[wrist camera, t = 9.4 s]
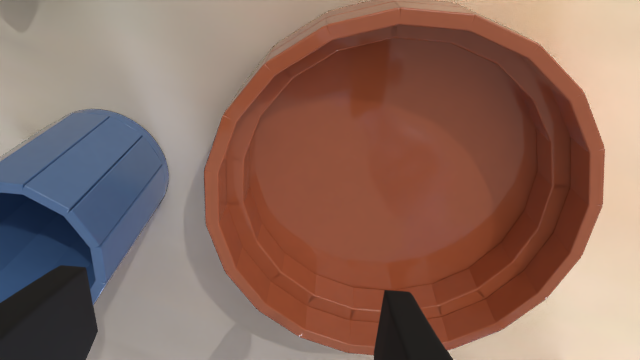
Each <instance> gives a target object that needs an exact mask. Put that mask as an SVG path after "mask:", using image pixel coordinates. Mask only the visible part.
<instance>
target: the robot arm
mask: <svg viewBox="0 0 640 360" xmlns="http://www.w3.org/2000/svg"><path fill="white" fill-rule="evenodd" d="M97 332H98V329H97V323H96V318H95V313H94V308H93V302H92V297H91V292H90V286H89V281H88V276H87V270H86V267H78V266H65V265H60V266H58V267H57V268H55V269H53V270H51V271H50V272H48V273H46V274H45V275H43V276H42V277H40V278H38V279H37V280H35V281H34V282H32V283H30V284H29V285H27V286H26V287H24V288H23V289H21V290H20V291H18V292H16V293H15V294H13V295H12V296H10V297H9V298H7V299H5V300H4V301H2V302H1V303H0V360H86V358H87V355H88V353H89V351H90V348H91V346H92V344H93V341H94V339H95V337H96V334H97ZM374 360H453V359H452V357H451V356H450V354H449V353H448V351H447V350H446V348H445V347H444V346H443V344H442V343H441V341H440V339H439V338H438V336H437V335H436V333H435V332H434V330H433V328H432V327H431V325H430V324H429V322H428V320H427V319H426V317H425V315H424V314H423V312H422V310H421V309H420V307H419V305H418V303H417V302H416V300H415V298H414V296H413V295H412V294H411V293H410V292H406V291H393V290H384V295H383V301H382V307H381V313H380V319H379V325H378V331H377V336H376V342H375V348H374Z"/></svg>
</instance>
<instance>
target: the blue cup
mask: <svg viewBox="0 0 640 360" xmlns="http://www.w3.org/2000/svg"><path fill="white" fill-rule="evenodd" d="M168 181H169V173H168V166H167V163H166V159H165V157H164V154H163V152H162V150H161V148H160V147H159V145H158V144H157V142H156V141H155V140H154V138H153V137H152V136H151V135H150V134H149V133H148V132H147V131H146V130H145V129H144V128H143V127H141V126H140V125H139V124H137V123H136V122H134V121H133V120H131V119H129V118H127V117H125V116H123V115H120V114H118V113H115V112H111V111H107V110H100V109H86V110H79V111H75V112H72V113H70V114H68V115H66V116H64V117H62V118H61V119H59V120H58V121H56V122H54V123H52V124H50V125H48V126H46V127H45V128H43V129H42V130H40V131H39V132H37V133H36V134H34V135H32V136H31V137H29V138H28V139H26V140H25V141H23V142H22V143H20V144H19V145H17V146H16V147H14V148H13V149H11V150H10V151H8V152H7V153H5V154H3V155H2V156H0V303H1V302H2V301H4V300H5V299H7V298H9V297H10V296H12V295H13V294H15V293H16V292H18V291H20V290H21V289H23V288H24V287H26V286H27V285H29V284H30V283H32V282H34V281H35V280H37V279H38V278H40V277H42V276H43V275H45V274H46V273H48V272H50V271H51V270H53V269H55V268H57V267H58V266H60V265H65V266H78V267H86V270H87V276H88V281H89V286H90V292H91V297H92V302H93V305H94V304H95V302H96V301H97V299H98V298H99V296H100V295H101V293H102V291H103V290H104V288H105V287H106V285H107V284H108V282H109V281H110V279H111V278H112V276H113V275H114V273H115V272H116V270H117V269H118V267H119V266H120V264H121V263H122V261H123V259H124V258H125V256H126V255H127V253H128V252H129V250H130V249H131V247H132V246H133V244H134V243H135V241H136V240H137V238H138V237H139V235H140V234H141V232H142V231H143V229H144V227H145V226H146V224H147V223H148V221H149V220H150V218H151V217H152V215H153V214H154V212H155V210H156V209H157V207H158V206H159V204H160V203H161V201H162V199H163V198H164V196H165V194H166V190H167V187H168Z"/></svg>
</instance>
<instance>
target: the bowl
mask: <svg viewBox="0 0 640 360" xmlns="http://www.w3.org/2000/svg"><path fill="white" fill-rule="evenodd" d="M604 158H605V149H604V144H603V142H602V139H601V136H600V133H599V131H598V128H597V125H596V123H595V120H594V117H593V114H592V112H591V109H590V106H589V104H588V101H587V98H586V96H585V93H584V92H583V90H582V89H581V88H580V87H579V86H578V85H577V83H576V82H575V81H574V80H573V79H572V78H571V77H570V76H569V75H568V74H567V73H566V72H565V71H564V70H563V69H562V67H561V66H560V65H559V64H558V63H557V62H556V61H555V60H554V59H553V58H552V57H551V56H550V55H549V54H548V53H547V51H546V50H545V49H544V48H543V47H542V46H541V45H539V44H538V43H537V42H535V41H533V40H531V39H529V38H527V37H525V36H523V35H521V34H519V33H517V32H515V31H513V30H511V29H509V28H508V27H506V26H503V25H501V24H499V23H497V22H495V21H493V20H491V19H488V18H486V17H484V16H482V15H480V14H478V13H476V12H474V11H471V10H469V9H467V8H465V7H463V6H461V5H459V4H457V3H453V2H449V1H438V0H371V1H367V2H363V3H359V4H355V5H351V6H347V7H342V8H338V9H334V10H330V11H328V12H327V13H324V14H322V15H321V16H319V17H317V18H316V19H314V20H313V21H311V22H310V23H308V24H306V25H305V26H303V27H302V28H300V29H298V30H297V31H295V32H294V33H292V34H291V35H289V36H287V37H286V38H284V39H283V40H281V41H279V42H278V43H277V44H276V45H275V46H273V47H272V49H271V50H270V51H269V52H268V54H267V55H266V56H265V57H264V59H263V60H262V61H261V62H260V63H259V65H258V66H257V67H256V68H255V70H254V71H253V72H252V73H251V75H250V76H249V77H248V78H247V80H246V81H245V82H244V83H243V85H242V86H241V87H240V89H239V90H238V92H237V93H236V95H235V97H234V98H233V100H232V101H231V103H230V104H229V106H228V107H227V109H226V111H225V112H224V114H223V116H222V119H221V122H220V125H219V127H218V130H217V133H216V136H215V139H214V142H213V145H212V148H211V151H210V154H209V157H208V160H207V163H206V166H205V170H204V188H205V219H206V226H207V229H208V231H209V234H210V236H211V238H212V241H213V243H214V246H215V248H216V251H217V253H218V256H219V258H220V261H221V263H222V266H223V268H224V271H225V272H226V274H227V275H228V276H229V277H230V278H231V280H232V281H233V282H234V283H235V284H236V285H237V287H238V288H239V289H240V290H241V291H242V292H243V294H244V295H245V296H246V297H247V298H248V299H249V301H250V302H251V303H252V304H253V305H254V306H255V308H256V309H258V310H259V311H260V312H262V313H263V314H265V315H266V316H268V317H269V318H271V319H272V320H274V321H275V322H277V323H279V324H280V325H282V326H283V327H285V328H286V329H288V330H289V331H291V332H292V333H294V334H296V335H297V336H300V337H301V338H304V339H307V340H310V341H313V342H316V343H319V344H322V345H325V346H328V347H331V348H334V349H337V350H340V351H343V352H348V353H355V354H367V355H374V348H375V342H376V336H377V331H378V325H379V319H380V313H381V307H382V301H383V295H384V290H393V291H406V292H410V293H411V294H412V295H413V296H414V298H415V300H416V302H417V303H418V305H419V307H420V309H421V310H422V312H423V314H424V315H425V317H426V319H427V320H428V322H429V324H430V325H431V327H432V328H433V330H434V332H435V333H436V335H437V336H438V338H439V339H440V341H441V343H442V344H443V346H444V347H445V348H446V350H451V349H454V348H457V347H459V346H462V345H464V344H467V343H470V342H472V341H475V340H477V339H480V338H482V337H485V336H488V335H490V334H493V333H495V332H498V331H500V330H501V329H504V328H505V327H507V326H508V325H510V324H511V323H513V322H514V321H515V320H517V319H518V318H520V317H521V316H523V315H524V314H525V313H527V312H528V311H530V310H531V309H533V308H534V307H535V306H537V305H538V304H540V303H541V302H543V301H544V300H545V299H546V298H548V296H549V295H550V294H551V293H552V292H553V290H554V289H555V288H556V287H557V286H558V284H559V283H560V282H561V281H562V280H563V278H564V277H565V276H566V275H567V274H568V272H569V271H570V270H571V269H572V268H573V266H574V265H575V264H576V263H577V262H578V260H579V259H580V258H581V256H582V254H583V252H584V250H585V247H586V245H587V242H588V240H589V237H590V235H591V233H592V230H593V228H594V225H595V223H596V220H597V218H598V215H599V213H600V211H601V208H602V204H603V185H604Z"/></svg>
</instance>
